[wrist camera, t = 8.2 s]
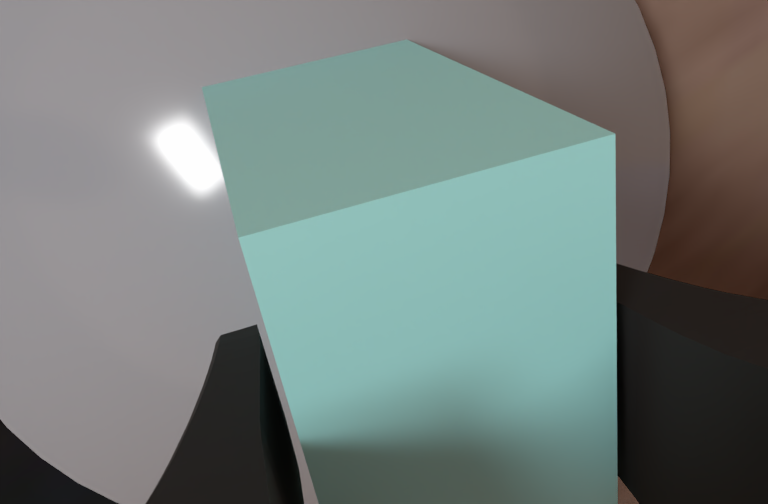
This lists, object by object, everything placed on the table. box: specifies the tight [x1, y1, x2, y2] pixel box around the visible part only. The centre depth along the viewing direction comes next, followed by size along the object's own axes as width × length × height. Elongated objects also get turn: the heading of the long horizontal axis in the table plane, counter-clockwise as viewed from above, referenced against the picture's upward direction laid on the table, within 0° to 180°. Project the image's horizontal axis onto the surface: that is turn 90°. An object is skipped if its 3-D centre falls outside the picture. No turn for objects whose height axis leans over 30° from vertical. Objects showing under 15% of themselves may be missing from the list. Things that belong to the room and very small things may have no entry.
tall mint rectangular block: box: [202, 40, 618, 504], centre depth 12 cm, size 8×4×7 cm, turn 10°
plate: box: [0, 0, 670, 504], centre depth 15 cm, size 16×16×1 cm
